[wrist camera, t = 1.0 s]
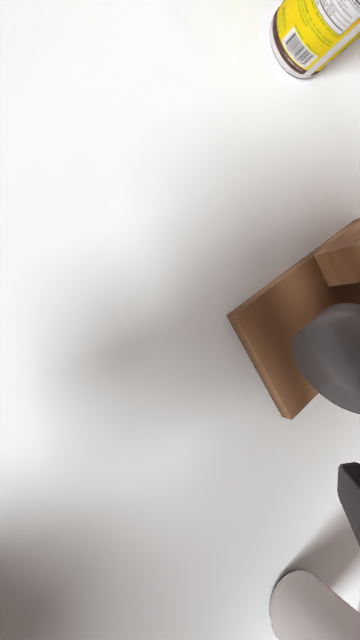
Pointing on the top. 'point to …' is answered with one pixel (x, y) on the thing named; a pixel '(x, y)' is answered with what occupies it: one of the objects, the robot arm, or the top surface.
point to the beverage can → (311, 610)
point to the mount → (297, 314)
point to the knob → (332, 354)
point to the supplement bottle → (313, 33)
